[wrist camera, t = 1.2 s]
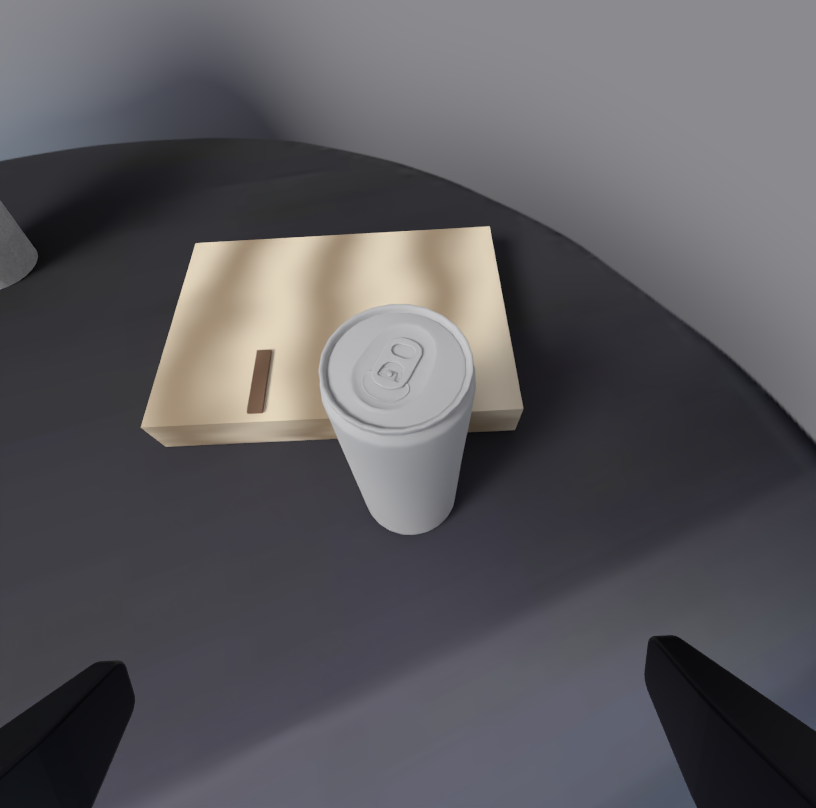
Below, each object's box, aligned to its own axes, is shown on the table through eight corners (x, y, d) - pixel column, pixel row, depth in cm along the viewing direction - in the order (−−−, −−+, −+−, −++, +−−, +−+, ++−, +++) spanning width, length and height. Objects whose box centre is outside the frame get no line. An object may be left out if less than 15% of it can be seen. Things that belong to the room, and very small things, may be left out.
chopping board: (485, 255, 32) (490, 223, 29) (515, 430, 25) (524, 407, 22) (211, 270, 32) (194, 240, 30) (165, 446, 25) (138, 425, 23)
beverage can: (349, 514, 23) (281, 399, 12) (389, 437, 25) (361, 282, 14) (434, 553, 22) (440, 464, 11) (469, 469, 24) (501, 327, 13)
